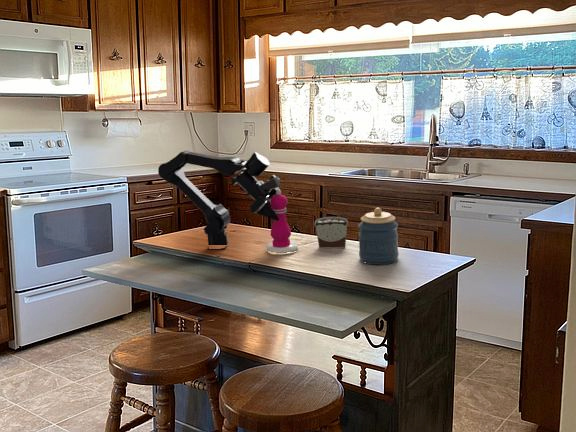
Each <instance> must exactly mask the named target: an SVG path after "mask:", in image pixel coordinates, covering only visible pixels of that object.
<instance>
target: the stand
mask: <svg viewBox="0 0 576 432" xmlns="http://www.w3.org/2000/svg"><path fill="white" fill-rule="evenodd" d="M267 250H268V251H271V252H276V253H287V252H294V251H297V250H298V251H299V245H298V242H296V241H293V240H290V245H289V246H287V247H282V248H278V247H274V246H273V243H272V242H269V243H267V245H266V251H267ZM298 251H297V252H298Z"/></svg>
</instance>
